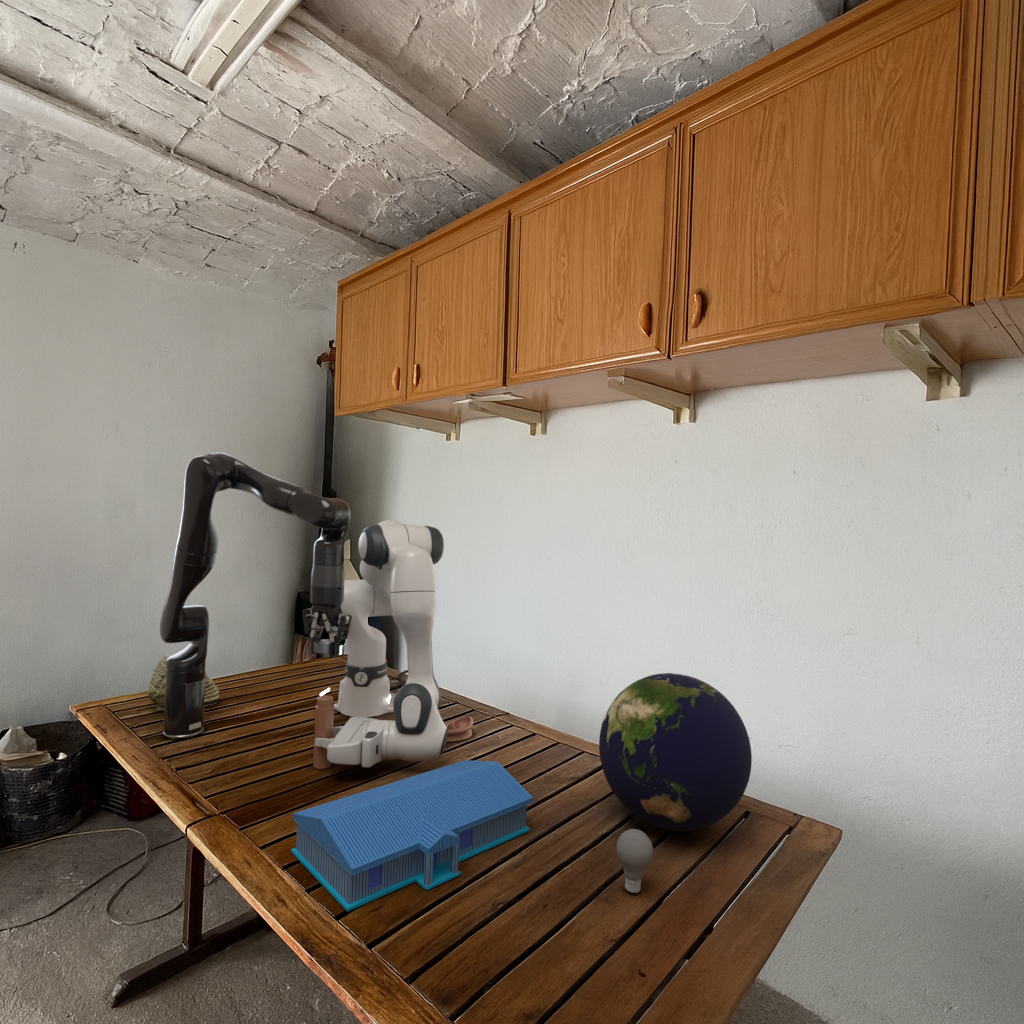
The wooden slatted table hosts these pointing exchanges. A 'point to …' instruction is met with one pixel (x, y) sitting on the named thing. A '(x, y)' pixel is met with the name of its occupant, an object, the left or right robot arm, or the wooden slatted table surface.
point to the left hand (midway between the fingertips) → (324, 655)
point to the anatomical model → (459, 729)
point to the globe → (675, 752)
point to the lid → (322, 646)
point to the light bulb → (634, 857)
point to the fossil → (158, 687)
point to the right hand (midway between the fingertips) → (319, 736)
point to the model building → (409, 830)
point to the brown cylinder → (323, 729)
